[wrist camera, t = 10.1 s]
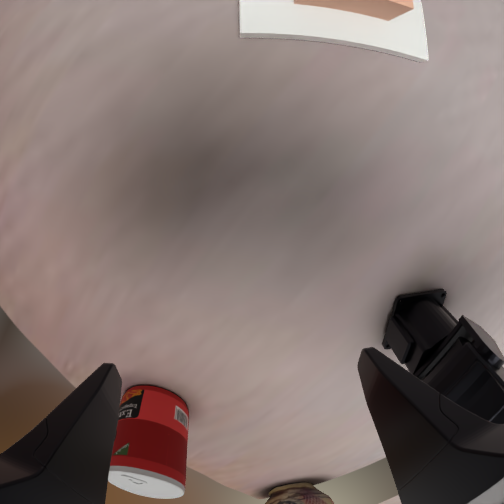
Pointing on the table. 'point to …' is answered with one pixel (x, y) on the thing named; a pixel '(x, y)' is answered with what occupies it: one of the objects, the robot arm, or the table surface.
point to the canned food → (150, 443)
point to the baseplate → (335, 27)
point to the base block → (365, 6)
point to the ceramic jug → (298, 495)
